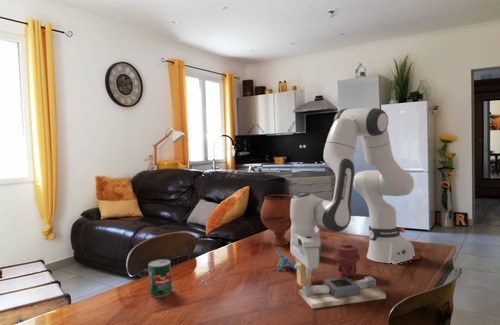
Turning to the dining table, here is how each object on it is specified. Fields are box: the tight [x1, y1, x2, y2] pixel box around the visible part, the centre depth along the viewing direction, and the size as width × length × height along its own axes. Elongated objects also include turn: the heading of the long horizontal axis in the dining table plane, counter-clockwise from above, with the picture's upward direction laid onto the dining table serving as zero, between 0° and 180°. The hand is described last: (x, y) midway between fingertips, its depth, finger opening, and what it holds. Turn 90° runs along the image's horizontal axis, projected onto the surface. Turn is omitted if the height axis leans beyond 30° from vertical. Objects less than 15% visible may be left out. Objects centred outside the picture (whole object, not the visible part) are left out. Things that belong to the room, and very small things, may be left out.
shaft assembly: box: [301, 275, 377, 299], centre depth 123 cm, size 26×9×3 cm, turn 103°
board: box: [298, 287, 387, 310], centre depth 123 cm, size 26×12×2 cm, turn 103°
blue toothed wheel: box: [276, 251, 296, 272], centre depth 151 cm, size 11×6×10 cm
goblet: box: [260, 194, 293, 246], centre depth 191 cm, size 19×19×25 cm
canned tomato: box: [147, 258, 173, 298], centre depth 131 cm, size 8×8×11 cm
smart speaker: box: [315, 225, 322, 258], centre depth 165 cm, size 10×9×14 cm
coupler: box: [294, 261, 312, 287], centre depth 135 cm, size 6×4×8 cm, turn 103°
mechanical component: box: [333, 242, 361, 278], centre depth 142 cm, size 12×10×10 cm
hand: (303, 273), depth 135 cm, fingers open, 7 cm apart
